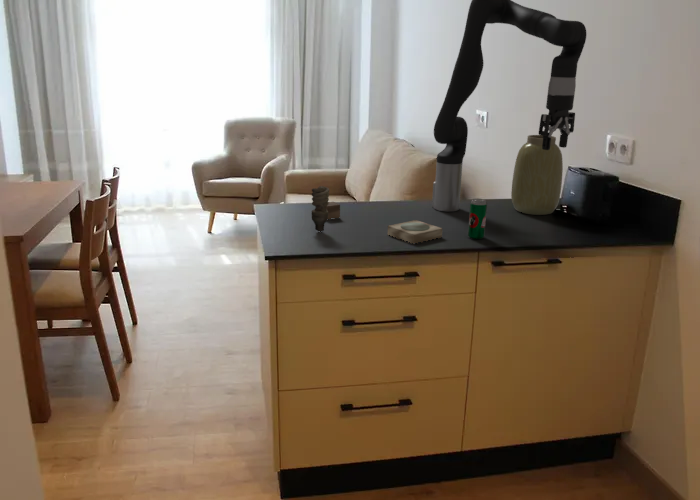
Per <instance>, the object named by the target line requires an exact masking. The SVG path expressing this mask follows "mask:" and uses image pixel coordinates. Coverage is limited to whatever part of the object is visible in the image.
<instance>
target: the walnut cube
mask: <svg viewBox="0 0 700 500" xmlns="http://www.w3.org/2000/svg"><path fill="white" fill-rule="evenodd" d="M328 203H329V204H328V205H327V206H326V207H325V209H326V210H327V211H328V219H331V218H339V217H340V218H341V204H340V203H338V202H336V201H328Z"/></svg>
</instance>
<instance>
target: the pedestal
mask: <svg viewBox="0 0 700 500" xmlns="http://www.w3.org/2000/svg"><path fill="white" fill-rule="evenodd" d="M389 235H390V236H389ZM387 236H389V237H392V236H393V237H392V238H395V237H396V238H395V239H398V240H400V239H402V240H401V241H403V240H404V241H403V242H406V241H408V242H407V243H409V242H410V243H409V244H412V243H413V244H412V245H415V244H414V243H417V244H419V243H418V242H421V243H424V242H423V241H426V242H429V241H428V240H430V241H433V240H432V239H434V240H437V239H436V238H438V239H441V237H442V238H443V227H440V226H436V225H433V224H430V223H426V222H423V221H420V220H417V219H413V220H410V221H404V222H400V223H395V224H391V225H387Z"/></svg>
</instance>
